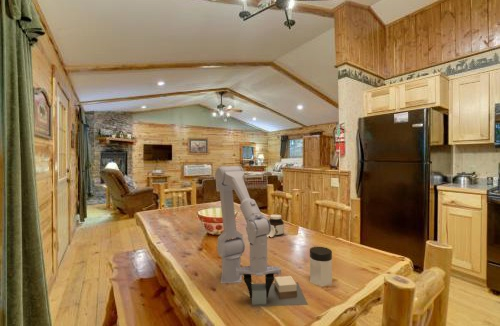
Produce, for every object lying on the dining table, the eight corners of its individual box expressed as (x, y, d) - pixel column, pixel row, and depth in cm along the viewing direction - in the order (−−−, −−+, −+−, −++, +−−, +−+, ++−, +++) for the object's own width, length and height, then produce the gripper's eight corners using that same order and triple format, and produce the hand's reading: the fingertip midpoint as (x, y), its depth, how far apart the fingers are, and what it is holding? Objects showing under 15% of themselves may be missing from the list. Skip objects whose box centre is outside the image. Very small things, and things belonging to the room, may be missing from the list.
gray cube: (251, 296, 83) (251, 283, 83) (264, 296, 84) (264, 283, 83) (252, 304, 79) (252, 290, 79) (266, 304, 79) (266, 290, 79)
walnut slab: (274, 289, 88) (274, 283, 88) (290, 287, 89) (290, 281, 89) (279, 299, 82) (279, 292, 82) (296, 296, 83) (296, 290, 83)
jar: (336, 281, 94) (336, 250, 94) (326, 290, 88) (326, 256, 88) (315, 274, 100) (315, 244, 100) (304, 281, 94) (304, 250, 94)
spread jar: (283, 232, 155) (283, 214, 154) (284, 238, 144) (284, 218, 143) (264, 232, 156) (264, 214, 156) (263, 238, 145) (263, 218, 144)
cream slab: (274, 283, 88) (274, 277, 88) (291, 281, 89) (291, 275, 89) (279, 292, 82) (279, 285, 82) (296, 290, 83) (296, 284, 83)
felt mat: (249, 284, 92) (249, 283, 92) (297, 283, 93) (297, 282, 93) (251, 307, 78) (251, 306, 78) (308, 305, 79) (308, 304, 79)
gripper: (236, 260, 77) (236, 304, 77) (282, 259, 77) (282, 302, 77) (236, 252, 84) (236, 291, 84) (279, 251, 84) (279, 290, 85)
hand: (258, 296), depth 81 cm, fingers closed on gray cube, 4 cm apart
